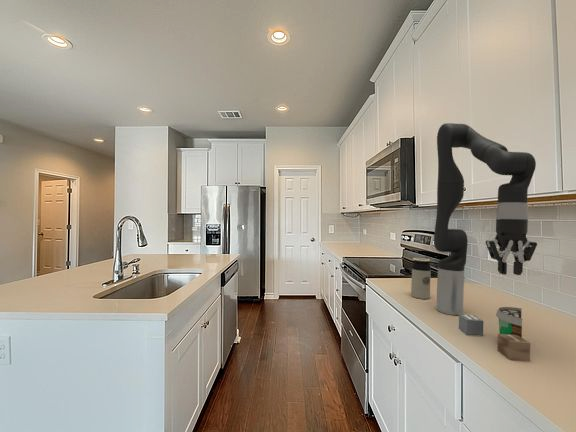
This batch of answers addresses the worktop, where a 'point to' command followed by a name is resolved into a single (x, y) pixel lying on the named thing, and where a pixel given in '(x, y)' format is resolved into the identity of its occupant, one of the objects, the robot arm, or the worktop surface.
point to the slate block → (471, 325)
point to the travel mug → (421, 278)
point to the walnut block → (513, 347)
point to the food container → (510, 321)
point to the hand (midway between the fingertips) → (509, 274)
